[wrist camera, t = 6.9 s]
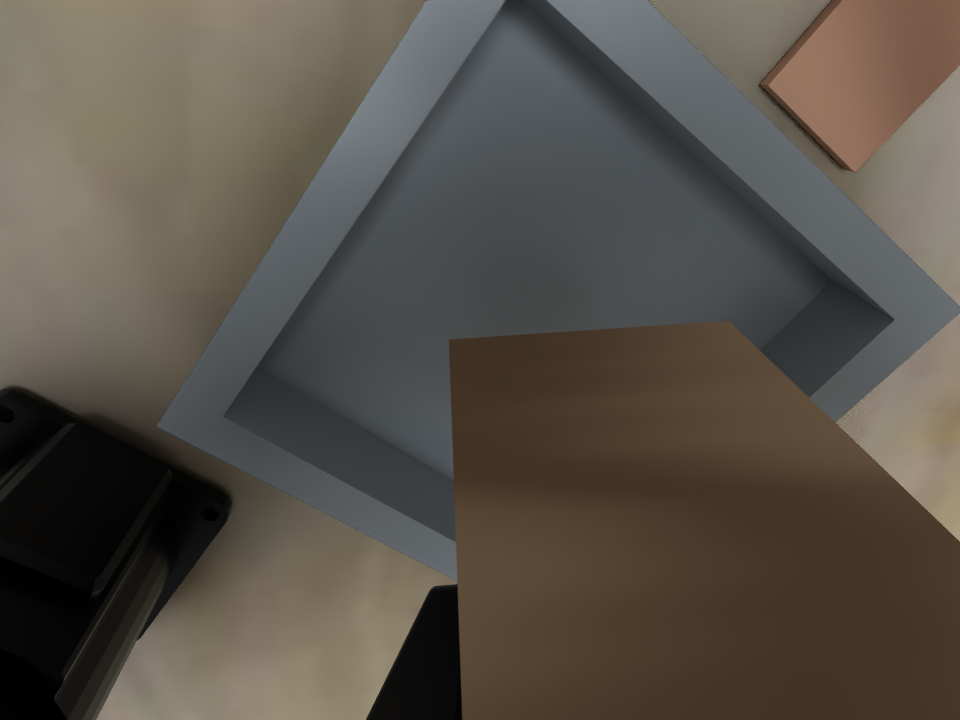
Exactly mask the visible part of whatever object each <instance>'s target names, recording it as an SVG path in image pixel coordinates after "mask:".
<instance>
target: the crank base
mask: <svg viewBox="0 0 960 720" xmlns="http://www.w3.org/2000/svg"><path fill="white" fill-rule="evenodd" d="M959 65H960V0H832V1H831V3H830V4H829V5H828V6H827V7H826V8H825V10H824V11H823V12H822V13H821V14H820V15H819V16H818V18H817V19H816V20H815V21H814V22H813V23H812V25H811V26H810V27H809V28H808V29H807V30H806V31H805V33H804V34H803V35H802V36H801V37H800V38H799V40H798V41H797V42H796V43H795V44H794V45H793V47H792V48H791V49H790V50H789V51H788V52H787V53H786V55H785V56H784V57H783V58H782V59H781V60H780V62H779V63H778V64H777V65H776V66H775V67H774V69H773V70H772V71H771V72H770V73H769V74H768V75H767V77H766V78H765V79H764V80H763V81H762V82H761V84H760V85H761V86H762V87H763V88H764V89H765V90H766V91H767V92H768V93H769V94H770V95H771V96H772V97H773V98H774V99H775V100H776V101H777V102H778V103H779V104H780V105H781V106H782V107H783V108H784V109H785V110H786V111H787V112H788V113H789V114H790V115H791V116H792V117H793V118H794V119H795V120H796V121H797V122H798V123H799V124H800V125H801V126H802V127H803V128H804V129H805V130H806V131H807V132H808V133H809V134H810V135H811V136H812V137H813V138H814V139H815V140H816V141H817V142H818V143H819V144H820V145H821V146H822V147H823V148H824V149H825V150H826V151H827V152H828V153H829V154H830V155H831V156H832V157H833V158H834V159H835V160H836V161H837V162H838V163H839V164H840V165H841V166H842V167H843V168H844V169H845V170H848V171H851V172H854V173H855V172H856V171H857V170H858V169H859V168H860V167H861V166H862V165H863V164H864V163H865V162H866V161H867V160H868V159H869V158H870V157H871V156H872V155H873V154H874V153H875V152H876V151H877V150H878V149H879V148H880V146H881V145H882V144H883V143H884V142H885V141H886V140H887V139H888V138H889V137H890V136H891V135H892V134H893V133H894V132H895V131H896V130H897V129H898V128H899V127H900V126H901V125H902V124H903V123H904V122H905V121H906V120H907V119H908V118H909V117H910V116H911V115H912V114H913V113H914V112H915V110H916V109H917V108H918V107H919V106H920V105H921V104H922V103H923V102H924V101H925V100H926V99H927V98H928V97H929V96H930V95H931V94H932V93H933V92H934V91H935V90H936V89H937V88H938V87H939V86H940V85H941V84H942V83H943V82H944V81H945V80H946V79H947V78H948V77H949V75H950V74H951V73H952V72H953V71H954V70H955V69H956V68H957V67H958V66H959Z"/></svg>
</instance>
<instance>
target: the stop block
mask: <svg viewBox="0 0 960 720" xmlns="http://www.w3.org/2000/svg"><path fill="white" fill-rule="evenodd" d="M449 359H450V387H451V415H452V443H453V471H454V499H455V527H456V555H457V583H458V611H459V639H460V667H461V695H462V720H960V542H959V541H958V540H957V539H956V538H955V537H954V536H953V535H952V534H951V533H950V532H949V531H948V530H947V529H946V528H945V527H944V526H943V525H942V524H941V523H940V522H939V521H937V520H936V519H935V518H934V517H933V516H932V515H931V514H930V513H929V512H928V511H927V510H926V509H925V508H924V507H923V506H922V505H921V504H920V503H919V502H918V501H917V500H916V499H914V498H913V497H912V496H911V495H910V494H909V493H908V492H907V491H906V490H905V489H904V488H903V487H902V486H901V485H900V484H899V483H898V482H897V481H896V480H895V479H894V478H893V477H891V476H890V475H889V474H888V473H887V472H886V471H885V470H884V469H883V468H882V467H881V466H880V465H879V464H878V463H877V462H876V461H875V460H874V459H873V458H872V457H871V456H870V455H868V454H867V453H866V452H865V451H864V450H863V449H862V448H861V447H860V446H859V445H858V444H857V443H856V442H855V441H854V440H853V439H852V438H851V437H850V436H849V435H848V434H847V433H845V432H844V431H843V430H842V429H841V428H840V427H839V426H838V425H837V424H836V423H835V422H834V421H833V420H832V419H831V418H830V417H829V416H828V415H827V414H826V413H825V412H824V411H822V410H821V409H820V408H819V407H818V406H817V405H816V404H815V403H814V402H813V401H812V400H811V399H810V398H809V397H808V396H807V395H806V394H805V393H804V392H803V391H802V390H801V389H799V388H798V387H797V386H796V385H795V384H794V383H793V382H792V381H791V380H790V379H789V378H788V377H787V376H786V375H785V374H784V373H783V372H782V371H781V370H780V369H779V368H778V367H776V366H775V365H774V364H773V363H772V362H771V361H770V360H769V359H768V358H767V357H766V356H765V355H764V354H763V353H762V352H761V351H760V350H759V349H758V348H757V347H756V346H755V345H753V344H752V343H751V342H750V341H749V340H748V339H747V338H746V337H745V336H744V335H743V334H742V333H741V332H740V331H739V330H738V329H737V328H736V327H735V326H734V325H733V324H732V323H730V322H729V321H719V322H704V323H689V324H674V325H659V326H644V327H629V328H614V329H599V330H584V331H569V332H554V333H539V334H524V335H509V336H493V337H478V338H463V339H449Z"/></svg>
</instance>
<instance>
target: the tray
mask: <svg viewBox="0 0 960 720" xmlns="http://www.w3.org/2000/svg"><path fill="white" fill-rule="evenodd" d="M959 313H960V306H959V305H958V304H957V303H956V302H955V301H954V300H953V299H952V298H951V297H950V296H948V295H947V294H946V293H945V292H944V291H943V290H942V289H941V288H940V287H939V286H938V285H937V284H936V283H935V282H934V281H933V280H932V279H931V278H930V277H929V276H928V275H927V274H926V273H925V272H924V271H923V270H922V269H921V268H920V267H919V266H918V265H917V264H916V263H915V262H914V261H913V260H912V259H911V258H910V257H909V256H908V255H907V254H906V253H905V252H904V251H903V250H902V249H901V248H900V247H899V246H897V245H896V244H895V243H894V242H893V241H892V240H891V239H890V238H889V237H888V236H887V235H886V234H885V233H884V232H883V231H882V230H881V229H880V228H879V227H878V226H877V225H876V224H875V223H874V222H873V221H872V220H871V219H870V218H869V217H868V216H867V215H866V214H865V213H864V212H863V211H862V210H861V209H860V208H859V207H858V206H857V205H856V204H855V203H854V202H853V201H852V200H851V199H850V198H849V197H848V196H846V195H845V194H844V193H843V192H842V191H841V190H840V189H839V188H838V187H837V186H836V185H835V184H834V183H833V182H832V181H831V180H830V179H829V178H828V177H827V176H826V175H825V174H824V173H823V172H822V171H821V170H820V169H819V168H818V167H817V166H816V165H815V164H814V163H813V162H812V161H811V160H810V159H809V158H808V157H807V156H806V155H805V154H804V153H803V152H802V151H801V150H800V149H799V148H798V147H796V146H795V145H794V144H793V143H792V142H791V141H790V140H789V139H788V138H787V137H786V136H785V135H784V134H783V133H782V132H781V131H780V130H779V129H778V128H777V127H776V126H775V125H774V124H773V123H772V122H771V121H770V120H769V119H768V118H767V117H766V116H765V115H764V114H763V113H762V112H761V111H760V110H759V109H758V108H757V107H756V106H755V105H754V104H753V103H752V102H751V101H750V100H749V99H748V98H747V97H745V96H744V95H743V94H742V93H741V92H740V91H739V90H738V89H737V88H736V87H735V86H734V85H733V84H732V83H731V82H730V81H729V80H728V79H727V78H726V77H725V76H724V75H723V74H722V73H721V72H720V71H719V70H718V69H717V68H716V67H715V66H714V65H713V64H712V63H711V62H710V61H709V60H708V59H707V58H706V57H705V56H704V55H703V54H702V53H701V52H700V51H699V50H698V49H697V48H696V47H694V46H693V45H692V44H691V43H690V42H689V41H688V40H687V39H686V38H685V37H684V36H683V35H682V34H681V33H680V32H679V31H678V30H677V29H676V28H675V27H674V26H673V25H672V24H671V23H670V22H669V21H668V20H667V19H666V18H665V17H664V16H663V15H662V14H661V13H660V12H659V11H658V10H657V9H656V8H655V7H654V6H653V5H652V4H651V3H650V2H649V1H648V0H426V2H425V4H424V5H423V7H422V8H421V10H420V12H419V13H418V15H417V16H416V18H415V19H414V21H413V23H412V24H411V26H410V27H409V29H408V30H407V32H406V34H405V35H404V37H403V38H402V40H401V41H400V43H399V45H398V46H397V48H396V49H395V51H394V52H393V54H392V56H391V57H390V59H389V60H388V62H387V64H386V65H385V67H384V68H383V70H382V71H381V73H380V75H379V76H378V78H377V79H376V81H375V82H374V84H373V86H372V87H371V89H370V90H369V92H368V93H367V95H366V97H365V98H364V100H363V101H362V103H361V104H360V106H359V108H358V109H357V111H356V112H355V114H354V116H353V117H352V119H351V120H350V122H349V123H348V125H347V127H346V128H345V130H344V131H343V133H342V134H341V136H340V138H339V139H338V141H337V142H336V144H335V145H334V147H333V149H332V150H331V152H330V153H329V155H328V156H327V158H326V160H325V161H324V163H323V164H322V166H321V168H320V169H319V171H318V172H317V174H316V175H315V177H314V179H313V180H312V182H311V183H310V185H309V186H308V188H307V190H306V191H305V193H304V194H303V196H302V197H301V199H300V201H299V202H298V204H297V205H296V207H295V209H294V210H293V212H292V213H291V215H290V216H289V218H288V220H287V221H286V223H285V224H284V226H283V227H282V229H281V231H280V232H279V234H278V235H277V237H276V238H275V240H274V242H273V243H272V245H271V246H270V248H269V249H268V251H267V253H266V254H265V256H264V257H263V259H262V261H261V262H260V264H259V265H258V267H257V268H256V270H255V272H254V273H253V275H252V276H251V278H250V279H249V281H248V283H247V284H246V286H245V287H244V289H243V290H242V292H241V294H240V295H239V297H238V298H237V300H236V301H235V303H234V305H233V306H232V308H231V309H230V311H229V313H228V314H227V316H226V317H225V319H224V320H223V322H222V324H221V325H220V327H219V328H218V330H217V331H216V333H215V335H214V336H213V338H212V339H211V341H210V342H209V344H208V346H207V347H206V349H205V350H204V352H203V354H202V355H201V357H200V358H199V360H198V361H197V363H196V365H195V366H194V368H193V369H192V371H191V372H190V374H189V376H188V377H187V379H186V380H185V382H184V383H183V385H182V387H181V388H180V390H179V391H178V393H177V394H176V396H175V398H174V399H173V401H172V402H171V404H170V406H169V407H168V409H167V410H166V412H165V413H164V415H163V417H162V418H161V420H160V421H159V423H158V424H157V427H159V428H160V429H162V430H164V431H166V432H168V433H170V434H172V435H174V436H176V437H178V438H180V439H182V440H184V441H186V442H188V443H190V444H192V445H193V446H195V447H197V448H199V449H201V450H203V451H205V452H207V453H209V454H211V455H213V456H215V457H217V458H219V459H221V460H223V461H225V462H226V463H228V464H230V465H232V466H234V467H236V468H238V469H240V470H242V471H244V472H246V473H248V474H250V475H252V476H254V477H256V478H258V479H259V480H261V481H263V482H265V483H267V484H269V485H271V486H273V487H275V488H277V489H279V490H281V491H283V492H285V493H287V494H289V495H291V496H292V497H294V498H296V499H298V500H300V501H302V502H304V503H306V504H308V505H310V506H312V507H314V508H316V509H318V510H320V511H322V512H324V513H325V514H327V515H329V516H331V517H333V518H335V519H337V520H339V521H341V522H343V523H345V524H347V525H349V526H351V527H353V528H355V529H357V530H358V531H360V532H362V533H364V534H366V535H368V536H370V537H372V538H374V539H376V540H378V541H380V542H382V543H384V544H386V545H388V546H390V547H391V548H393V549H395V550H397V551H399V552H401V553H403V554H405V555H407V556H409V557H411V558H413V559H415V560H417V561H419V562H421V563H423V564H424V565H426V566H428V567H430V568H432V569H434V570H436V571H438V572H440V573H442V574H444V575H446V576H448V577H450V578H452V579H454V580H456V581H457V555H456V527H455V499H454V471H453V443H452V415H451V387H450V359H449V339H463V338H478V337H493V336H509V335H524V334H539V333H554V332H569V331H584V330H599V329H614V328H629V327H644V326H659V325H674V324H689V323H704V322H719V321H729V322H730V323H732V324H733V325H734V326H735V327H736V328H737V329H738V330H739V331H740V332H741V333H742V334H743V335H744V336H745V337H746V338H747V339H748V340H749V341H750V342H751V343H752V344H753V345H755V346H756V347H757V348H758V349H759V350H760V351H761V352H762V353H763V354H764V355H765V356H766V357H767V358H768V359H769V360H770V361H771V362H772V363H773V364H774V365H775V366H776V367H778V368H779V369H780V370H781V371H782V372H783V373H784V374H785V375H786V376H787V377H788V378H789V379H790V380H791V381H792V382H793V383H794V384H795V385H796V386H797V387H798V388H799V389H801V390H802V391H803V392H804V393H805V394H806V395H807V396H808V397H809V398H810V399H811V400H812V401H813V402H814V403H815V404H816V405H817V406H818V407H819V408H820V409H821V410H822V411H824V412H825V413H826V414H827V415H828V416H829V417H830V418H831V419H832V420H833V421H834V422H836V421H837V420H839V419H840V418H841V417H842V416H843V415H844V414H845V413H847V412H848V411H849V410H850V409H851V408H852V407H853V406H854V405H856V404H857V403H858V402H859V401H860V400H861V399H862V398H864V397H865V396H866V395H867V394H868V393H869V392H870V391H872V390H873V389H874V388H875V387H876V386H877V385H878V384H880V383H881V382H882V381H883V380H884V379H885V378H886V377H887V376H889V375H890V374H891V373H892V372H893V371H894V370H895V369H897V368H898V367H899V366H900V365H901V364H902V363H903V362H905V361H906V360H907V359H908V358H909V357H910V356H911V355H913V354H914V353H915V352H916V351H917V350H918V349H919V348H920V347H922V346H923V345H924V344H925V343H926V342H927V341H928V340H930V339H931V338H932V337H933V336H934V335H935V334H936V333H938V332H939V331H940V330H941V329H942V328H943V327H944V326H946V325H947V324H948V323H949V322H950V321H951V320H952V319H953V318H955V317H956V316H957V315H958V314H959Z"/></svg>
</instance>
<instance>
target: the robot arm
mask: <svg viewBox="0 0 960 720" xmlns="http://www.w3.org/2000/svg"><path fill="white" fill-rule="evenodd" d="M3 406H6V407H8V408H10V409H11V410H12V411H13V413H14V414H11V413H9V412H8V411H6V410H5V409H4V407H3ZM207 506H210V507H214V508H215V509H216V510H218V511H211V510H209V509H208V508H206V507H207ZM232 508H233V506H232V501H231V500H230V498H229V497H228V496H227V495H225V494H224V493H223V492H221V491H219V490H217V489H215V488H213V487H211V486H209V485H207V484H205V483H203V482H201V481H199V480H197V479H195V478H193V477H191V476H189V475H187V474H185V473H183V472H181V471H179V470H177V469H175V468H173V467H170V466H168V465H166V464H164V463H162V462H160V461H158V460H156V459H154V458H152V457H150V456H148V455H146V454H144V453H142V452H140V451H138V450H136V449H134V448H132V447H130V446H128V445H126V444H124V443H122V442H120V441H118V440H116V439H114V438H112V437H110V436H108V435H106V434H104V433H102V432H100V431H98V430H96V429H94V428H92V427H90V426H88V425H86V424H84V423H82V422H80V421H78V420H76V419H74V418H72V417H70V416H68V415H66V414H64V413H62V412H60V411H58V410H56V409H54V408H52V407H50V406H48V405H46V404H44V403H42V402H40V401H38V400H36V399H34V398H32V397H30V396H28V395H26V394H24V393H22V392H20V391H17V390H14V389H2V390H0V720H96V719H97V717H98V715H99V713H100V711H101V709H102V707H103V705H104V703H105V701H106V699H107V697H108V695H109V693H110V691H111V689H112V687H113V686H114V684H115V682H116V680H117V678H118V676H119V674H120V672H121V670H122V668H123V666H124V664H125V662H126V660H127V658H128V656H129V654H130V652H131V650H132V648H133V646H134V644H135V642H136V641H137V640H138V639H140V638H141V637H142V635H143V634H144V632H145V631H146V630H147V628H148V627H149V626H150V624H151V623H152V622H153V620H154V619H155V618H156V616H157V615H158V614H159V612H160V611H161V609H162V608H163V607H164V605H165V604H166V603H167V601H168V600H169V599H170V597H171V596H172V595H173V593H174V592H175V591H176V589H177V588H178V586H179V585H180V584H181V582H182V581H183V580H184V578H185V577H186V576H187V574H188V573H189V572H190V570H191V569H192V568H193V566H194V565H195V563H196V562H197V561H198V559H199V558H200V557H201V555H202V554H203V553H204V551H205V550H206V549H207V547H208V546H209V545H210V543H211V542H212V541H213V539H214V538H215V536H216V535H217V534H218V532H219V531H220V530H221V528H222V527H223V526H224V524H225V523H226V521H227V519H228V517H229V515H230V512H231V510H232ZM366 720H462V695H461V667H460V639H459V611H458V584H456V585H443V586H435V587H433V588H432V589H431V590H430V591H429V593H428V595H427V597H426V599H425V601H424V603H423V605H422V607H421V609H420V611H419V613H418V615H417V617H416V619H415V621H414V623H413V625H412V627H411V629H410V631H409V633H408V635H407V637H406V639H405V641H404V643H403V645H402V647H401V649H400V652H399V654H398V656H397V658H396V660H395V662H394V664H393V666H392V668H391V670H390V672H389V674H388V676H387V678H386V680H385V682H384V684H383V686H382V688H381V690H380V692H379V694H378V696H377V698H376V700H375V702H374V704H373V706H372V708H371V710H370V712H369V715H368V717H367V719H366Z"/></svg>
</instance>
